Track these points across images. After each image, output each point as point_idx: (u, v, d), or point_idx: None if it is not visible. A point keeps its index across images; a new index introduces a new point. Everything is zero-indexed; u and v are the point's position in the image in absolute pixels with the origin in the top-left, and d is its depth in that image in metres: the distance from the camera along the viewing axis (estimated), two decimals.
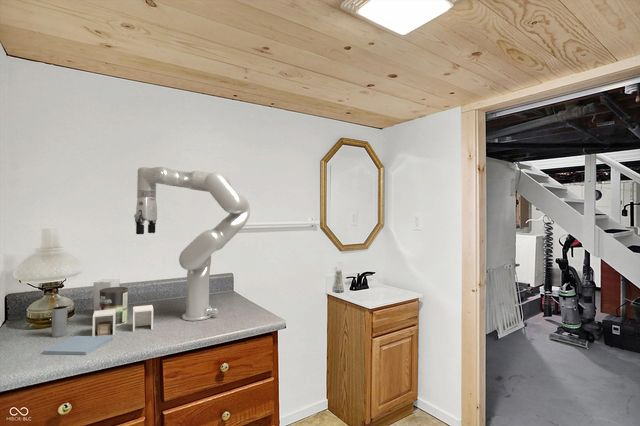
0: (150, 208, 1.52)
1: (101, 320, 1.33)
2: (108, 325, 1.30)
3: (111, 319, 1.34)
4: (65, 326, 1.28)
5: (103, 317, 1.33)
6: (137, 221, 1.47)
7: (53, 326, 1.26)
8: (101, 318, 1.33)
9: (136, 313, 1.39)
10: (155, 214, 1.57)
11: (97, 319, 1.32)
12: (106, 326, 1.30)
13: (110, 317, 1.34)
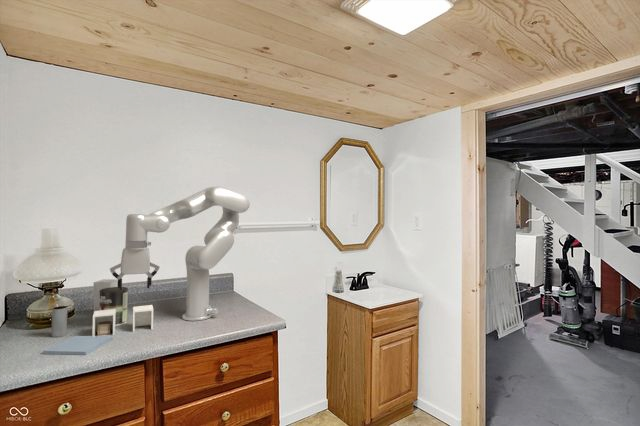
0: None
1: (101, 320, 1.33)
2: (108, 325, 1.30)
3: (111, 319, 1.34)
4: (65, 326, 1.28)
5: (103, 317, 1.33)
6: (155, 273, 1.40)
7: (53, 326, 1.26)
8: (101, 318, 1.33)
9: (136, 313, 1.39)
10: None
11: (97, 319, 1.32)
12: (106, 326, 1.30)
13: (110, 317, 1.34)
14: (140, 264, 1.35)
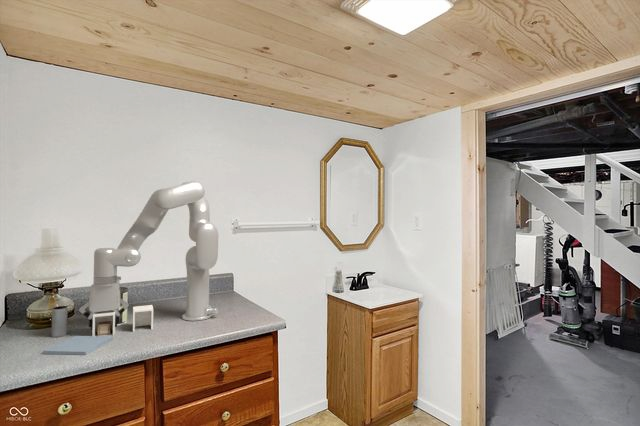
0: None
1: (101, 320, 1.33)
2: (108, 325, 1.30)
3: (111, 319, 1.34)
4: (65, 326, 1.28)
5: (103, 317, 1.33)
6: (123, 310, 1.34)
7: (53, 326, 1.26)
8: (101, 318, 1.33)
9: (136, 313, 1.39)
10: None
11: (97, 319, 1.32)
12: (106, 326, 1.30)
13: (110, 317, 1.34)
14: (109, 301, 1.30)
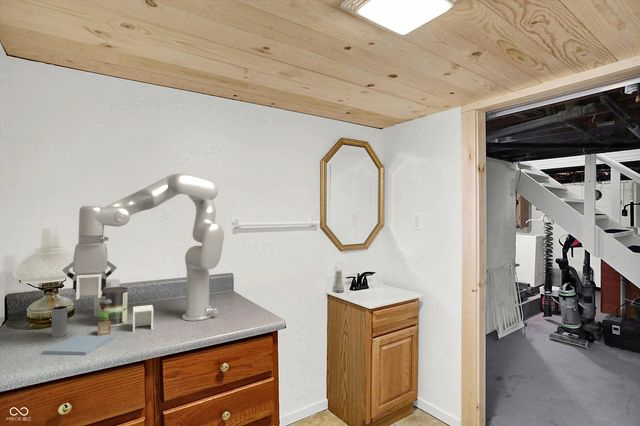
0: None
1: (87, 283, 1.25)
2: (108, 325, 1.30)
3: (97, 283, 1.26)
4: (65, 326, 1.28)
5: (89, 280, 1.25)
6: (110, 273, 1.26)
7: (53, 326, 1.26)
8: (87, 281, 1.25)
9: (136, 313, 1.39)
10: None
11: (82, 282, 1.24)
12: (106, 326, 1.30)
13: (96, 280, 1.26)
14: (95, 262, 1.21)
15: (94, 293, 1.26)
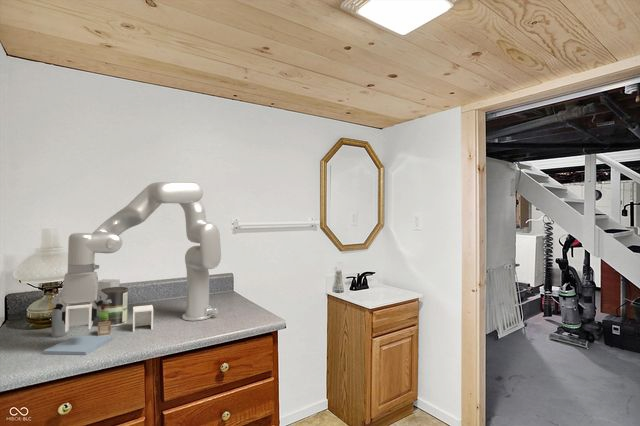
0: None
1: (76, 313, 1.20)
2: (108, 325, 1.30)
3: (88, 312, 1.21)
4: None
5: (79, 310, 1.20)
6: (101, 303, 1.21)
7: (53, 326, 1.26)
8: (76, 311, 1.20)
9: (136, 313, 1.39)
10: None
11: (72, 312, 1.19)
12: (106, 326, 1.30)
13: (87, 310, 1.21)
14: (85, 291, 1.17)
15: (84, 323, 1.21)
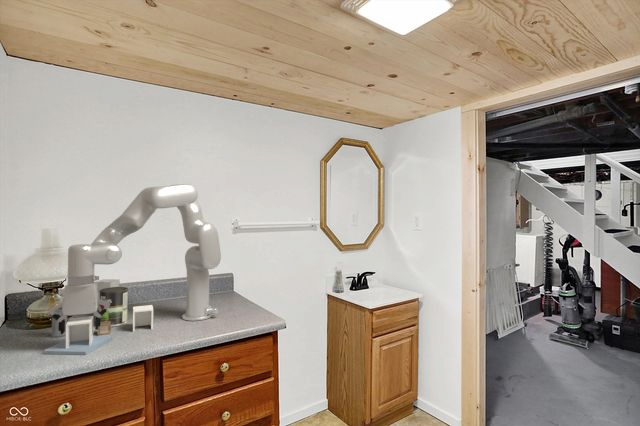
0: None
1: (77, 328, 1.20)
2: (108, 325, 1.30)
3: (88, 327, 1.21)
4: (65, 326, 1.28)
5: (79, 325, 1.20)
6: (105, 311, 1.21)
7: (53, 326, 1.26)
8: (77, 326, 1.20)
9: (136, 313, 1.39)
10: None
11: (72, 327, 1.19)
12: (106, 326, 1.30)
13: (87, 325, 1.21)
14: (85, 303, 1.17)
15: (85, 338, 1.21)
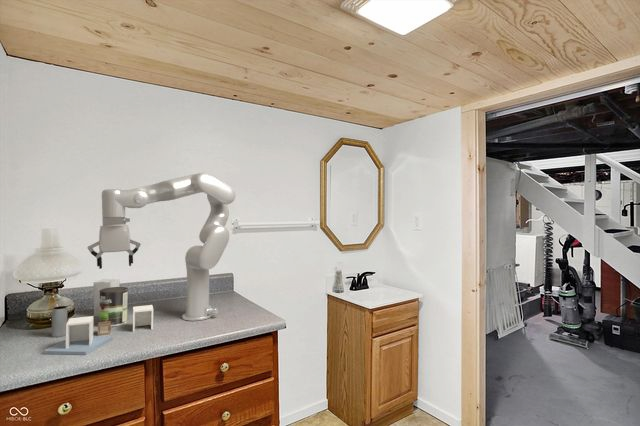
0: None
1: (77, 328, 1.20)
2: (108, 325, 1.30)
3: (88, 327, 1.21)
4: (65, 326, 1.28)
5: (79, 325, 1.20)
6: (136, 250, 1.35)
7: (53, 326, 1.26)
8: (77, 326, 1.20)
9: (136, 313, 1.39)
10: None
11: (72, 327, 1.19)
12: (106, 326, 1.30)
13: (87, 325, 1.21)
14: (119, 241, 1.29)
15: (85, 338, 1.21)
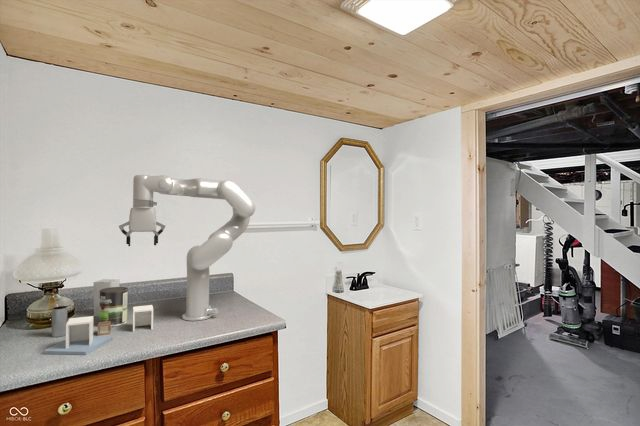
0: None
1: (77, 328, 1.20)
2: (108, 325, 1.30)
3: (88, 327, 1.21)
4: (65, 326, 1.28)
5: (79, 325, 1.20)
6: (161, 232, 1.48)
7: (53, 326, 1.26)
8: (77, 326, 1.20)
9: (136, 313, 1.39)
10: None
11: (72, 327, 1.19)
12: (106, 326, 1.30)
13: (87, 325, 1.21)
14: (147, 222, 1.43)
15: (85, 338, 1.21)
